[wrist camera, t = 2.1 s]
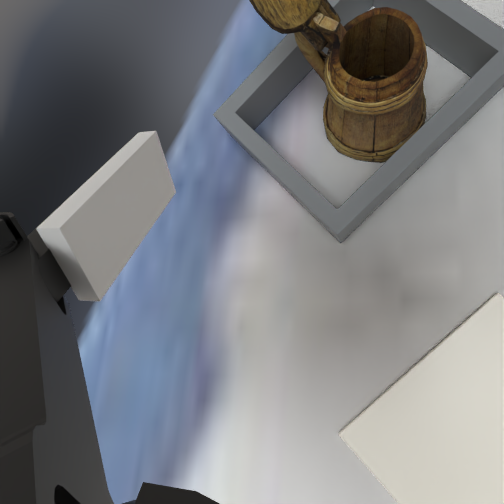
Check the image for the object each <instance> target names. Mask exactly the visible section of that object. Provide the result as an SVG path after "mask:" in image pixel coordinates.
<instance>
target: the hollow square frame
mask: <svg viewBox="0 0 504 504" xmlns="http://www.w3.org/2000/svg"><path fill="white" fill-rule="evenodd" d="M327 1H328V2H329V3H330V5H331V6H332V7H333V8H334V10H335V11H336V13H337V14H338V16H339V18H340V20H341V21H340V23H341V24H342V25H343V26H345V25H346V24H347V23H348V22H350V21H351V20H352V19H354V18H355V17H357V16H358V15H361V14H363V13H365V12H367V11H368V10H369V9H370V8H371V7H372V6H374V7H376V8H381V7H389V8H394V9H397V10H400V11H402V12H404V13H406V14H408V15H409V16H411V17H412V18H413V19H414V21H415V22H416V23H417V25H418V27H419V29H420V31H421V33H422V37H423V40H424V43H425V44H426V45H428V46H429V47H430V48H432V49H433V50H435V51H436V52H437V53H439V54H440V55H441V56H443V57H444V58H445V59H447V60H448V61H450V62H451V63H452V64H454V65H455V66H456V67H458V68H459V69H461V70H462V71H463V72H465V73H466V74H467V75H469V76H470V77H472V78H471V79H470V80H469V81H468V82H467V83H466V84H465V85H464V86H463V87H462V88H461V89H460V90H459V91H458V92H457V93H456V94H455V95H454V96H453V97H452V98H451V99H450V100H449V101H448V102H446V103H445V104H444V105H443V106H442V107H441V108H440V109H439V110H438V111H437V112H436V113H435V114H434V115H433V116H432V117H431V118H430V119H429V120H428V121H427V122H426V123H425V124H424V125H423V126H422V127H421V128H420V129H419V130H418V131H417V132H416V133H415V134H414V135H413V136H412V137H411V138H410V139H409V140H408V141H407V142H406V143H405V144H404V145H403V146H402V147H401V148H400V149H399V150H397V151H396V152H395V153H394V154H393V155H392V156H391V157H390V158H389V159H388V160H387V161H386V162H385V163H384V164H383V165H382V166H381V167H380V168H379V169H378V170H377V171H376V172H375V173H374V174H373V175H372V176H371V177H370V178H369V179H368V180H367V181H366V182H365V183H364V184H363V185H362V186H361V187H360V188H359V189H358V190H357V191H356V192H355V193H354V194H353V195H352V196H351V197H350V198H348V199H347V200H346V201H345V202H344V203H343V204H342V205H341V206H340V207H339V208H338V209H336V208H335V207H334V206H333V205H332V204H331V203H330V202H329V201H328V200H327V199H326V198H325V197H324V196H322V195H321V194H320V193H319V192H318V191H317V190H316V189H315V188H314V187H313V186H312V185H311V184H310V183H309V182H308V181H307V180H306V179H305V178H303V177H302V176H301V175H300V174H299V173H298V172H297V171H296V170H295V169H294V168H293V167H292V166H291V165H290V164H289V163H288V162H287V161H286V160H284V159H283V158H282V157H281V156H280V155H279V154H278V153H277V152H276V151H275V150H274V149H273V148H272V147H271V146H270V145H269V144H268V143H267V142H265V141H264V140H263V139H262V138H261V137H260V136H259V135H258V134H257V133H256V132H255V131H254V130H255V128H256V127H257V126H258V125H259V124H260V123H261V122H262V121H263V120H264V119H265V118H266V117H267V116H268V115H269V114H270V113H271V112H272V111H273V110H274V109H275V108H276V106H277V105H278V104H279V103H280V102H281V101H282V100H283V99H284V98H285V97H286V96H287V95H288V94H289V93H290V92H291V91H292V90H293V89H294V88H295V87H296V85H297V84H298V83H299V82H300V81H301V80H302V79H303V78H304V77H305V76H306V75H307V74H308V73H309V72H310V71H311V70H312V69H313V67H312V66H311V65H310V64H309V62H308V61H307V59H306V58H305V57H304V55H303V54H302V52H301V51H300V49H299V47H298V45H297V43H296V41H295V35H294V33H291V34H287V36H286V37H285V38H284V39H283V40H282V41H281V42H280V43H279V44H278V45H277V46H276V47H275V48H274V50H273V51H272V52H271V53H270V54H269V55H268V56H267V57H266V58H265V59H264V60H263V61H262V62H261V63H260V65H259V66H258V67H257V68H256V69H255V70H254V71H253V72H252V73H251V74H250V75H249V76H248V77H247V79H246V80H245V81H244V82H243V83H242V84H241V85H240V86H239V87H238V88H237V89H236V90H235V91H234V93H233V94H232V95H231V96H230V97H229V98H228V99H227V100H226V101H225V102H224V103H223V104H222V105H221V107H220V108H219V109H218V110H217V111H216V112H215V113H214V114H213V115H214V116H215V118H216V119H217V120H218V121H219V122H220V124H221V125H222V126H223V127H224V128H225V130H226V131H227V132H228V133H229V134H230V136H231V137H232V138H234V139H235V140H236V141H237V142H238V143H239V144H240V145H241V146H242V147H243V148H244V149H245V150H246V151H247V152H248V153H249V154H250V155H251V156H252V157H253V158H254V159H255V160H256V161H257V162H258V163H259V164H260V165H261V166H262V167H263V168H264V169H265V170H266V171H267V172H268V173H269V174H270V175H271V176H272V177H273V178H275V179H276V180H277V181H278V182H279V183H280V184H281V185H282V186H283V187H284V188H285V189H286V190H287V191H288V192H289V193H290V194H291V195H292V196H293V197H294V198H295V199H296V200H297V201H298V202H299V203H300V204H301V205H302V206H303V207H304V208H305V209H306V210H307V211H308V212H309V213H310V214H311V215H312V216H313V217H314V218H316V219H317V220H318V221H319V222H320V223H321V224H322V225H323V226H324V227H325V228H326V229H327V230H328V231H329V232H330V233H331V234H332V235H333V236H334V237H335V238H336V239H337V240H338V241H339V242H340V243H341V242H343V241H344V240H345V239H346V238H347V237H348V236H349V235H350V234H351V233H352V232H353V231H354V230H355V229H356V228H357V227H358V226H359V225H360V224H361V223H362V222H363V221H364V220H365V219H366V218H367V217H368V216H369V215H371V214H372V213H373V212H374V211H375V210H376V209H377V208H378V207H379V206H380V205H381V204H382V203H383V202H384V201H385V200H386V199H387V198H388V197H389V196H390V195H391V194H392V193H393V192H394V191H395V190H396V189H397V188H399V187H400V186H401V185H402V184H403V183H404V182H405V181H406V180H407V179H408V178H409V177H410V176H411V175H412V174H413V173H414V172H415V171H416V170H417V169H418V168H419V167H420V166H421V165H422V164H423V163H424V162H425V161H427V160H428V159H429V158H430V157H431V156H432V155H433V154H434V153H435V152H436V151H437V150H438V149H439V148H440V147H441V146H442V145H443V144H444V143H445V142H446V141H447V140H448V139H449V138H450V137H451V136H452V135H453V134H455V133H456V132H457V131H458V130H459V129H460V128H461V127H462V126H463V125H464V124H465V123H466V122H467V121H468V120H469V119H470V118H471V117H472V116H473V115H474V114H475V113H476V112H477V111H478V110H479V109H480V108H481V107H483V106H484V105H485V104H486V103H487V102H488V101H489V100H490V99H491V98H492V97H493V96H494V95H495V94H496V93H497V92H498V91H499V90H500V89H501V88H502V87H503V86H504V29H503V28H501V27H500V26H498V25H497V24H495V23H494V22H492V21H491V20H489V19H488V18H486V17H485V16H483V15H482V14H480V13H479V12H477V11H476V10H474V9H473V8H472V7H470V6H469V5H467V4H466V3H464V2H463V1H461V0H327ZM328 50H329V49H328V48H326V47H324V49H323V50H322V51H323V52H324V53H325V54H327V52H328Z"/></svg>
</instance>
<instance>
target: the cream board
mask: <svg viewBox="0 0 504 504" xmlns="http://www.w3.org/2000/svg"><path fill="white" fill-rule="evenodd" d="M339 436H340V437H341V438H342V439H343V441H344V442H345V443H346V444H347V445H348V446H349V448H350V449H351V450H352V451H353V452H354V453H355V455H356V456H357V457H358V458H359V459H360V460H361V462H362V463H363V464H364V465H365V466H366V467H367V468H368V470H369V471H370V472H371V473H372V474H373V475H374V477H375V478H376V479H377V480H378V481H379V482H380V484H381V485H382V486H383V487H384V488H385V489H386V490H387V492H388V493H389V494H390V495H391V496H392V497H393V499H394V500H395V501H396V502H397V503H398V504H504V297H503V296H502V295H500V294H499V293H496V294H495V295H494V296H493V297H492V298H490V299H489V300H488V301H487V302H486V303H485V304H484V305H483V306H481V307H480V308H479V309H478V310H477V311H476V312H475V313H473V314H472V315H471V316H470V317H469V318H468V319H467V320H466V321H464V322H463V323H462V324H461V325H460V326H459V327H458V328H457V329H455V330H454V331H453V332H452V333H451V334H450V335H449V336H448V337H446V338H445V339H444V340H443V341H442V342H441V343H440V344H438V345H437V346H436V347H435V348H434V349H433V350H432V351H431V352H429V353H428V354H427V355H426V356H425V357H424V358H423V359H422V360H420V361H419V362H418V363H417V364H416V365H415V366H414V367H413V368H411V369H410V370H409V371H408V372H407V373H406V374H405V375H403V376H402V377H401V378H400V379H399V380H398V381H397V382H396V383H394V384H393V385H392V386H391V387H390V388H389V389H388V390H387V391H385V392H384V393H383V394H382V395H381V396H380V397H379V398H378V399H376V400H375V401H374V402H373V403H372V404H371V405H370V406H369V407H367V408H366V409H365V410H364V411H363V412H362V413H361V414H359V415H358V416H357V417H356V418H355V419H354V420H353V421H352V422H350V423H349V424H348V425H347V426H346V427H345V428H344V429H343V430H341V431H340V432H339Z"/></svg>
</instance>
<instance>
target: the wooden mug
mask: <svg viewBox="0 0 504 504" xmlns="http://www.w3.org/2000/svg"><path fill="white" fill-rule="evenodd" d="M250 2H251V4H252V5H253V7H254V9H255V10H256V12H257V13H258V14H259V15H260V16H261V17H262V19H263V20H264V21H265V22H266V23H267V24H268V25H269V26H270V27H271V28H272V29H273V30H276V31H278V32H280V33H282V34H291V33H294V35H295V41H296V43H297V45H298V47H299V49H300V51H301V52H302V54H303V55H304V57H305V58H306V59H307V61H308V62H309V64H310V65H311V66H312V67H313V68H314V70H315V71H316V72H317V73H318V74H319V76H320V77H321V78H322V80H323V81H324V82H325V84H326V87H327V91H328V95H327V98H326V101H325V104H324V110H323V121H324V126H325V130H326V135H327V138H328V140H329V141H330V142H331V143H332V145H333V146H334V147H335V148H336V150H337V151H338V152H340V153H342V154H344V155H347V156H349V157H351V158H354V159H356V160H363V161H370V162H383V161H387V160H388V159H389V158H390V157H391V156H392V155H393V154H394V153H395V152H396V151H397V150H399V149H400V148H401V147H402V146H403V145H404V144H405V143H406V142H407V141H408V140H409V139H410V138H411V137H412V136H413V135H414V134H415V133H416V132H417V131H418V130H419V129H420V128H421V127H422V126H423V125H424V123H425V119H426V99H425V96H424V93H423V80H424V78H425V74H426V69H427V53H426V46H425V43H424V40H423V37H422V33H421V31H420V29H419V27H418V25H417V23H416V22H415V21H414V19H413V18H412V17H411V16H409V15H408V14H406V13H404V12H402V11H400V10H397V9H394V8H389V7H381V8H374V9H372V10H370V11H367V12H365V13H363V14H361V15H358V16H357V17H355V18H354V19H352V20H351V21H350V22H348V23H347V24H346V25H345V26H343V25H342V24H341V23H340V21H341V20H340V18H339V16H338V14H337V13H336V11H335V10H334V8H333V7H332V6H331V5H330V3H329V2H328V1H327V0H250ZM324 47H326V48H328V49H329V50H328V52H327V55H326V54H325V53H324V52H323V51H322V50H323V49H324Z"/></svg>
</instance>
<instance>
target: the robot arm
mask: <svg viewBox="0 0 504 504" xmlns="http://www.w3.org/2000/svg"><path fill="white" fill-rule="evenodd" d="M175 193H176V190H175V187H174V184H173V181H172V178H171V175H170V172H169V169H168V166H167V162H166V159H165V156H164V153H163V150H162V147H161V144H160V141H159V138H158V135H157V132H156V131H150V132H139V133H138V134H137V135H136V136H135V137H134V138H133V139H131V140H130V141H129V142H128V143H127V144H126V145H125V146H124V147H123V148H122V149H121V150H120V151H119V152H118V153H117V154H115V155H114V156H113V157H112V158H111V159H110V160H109V161H108V162H107V163H106V164H105V165H104V166H103V167H101V168H100V169H99V170H98V171H97V172H96V173H95V174H94V175H93V176H92V177H91V178H90V179H89V180H88V181H87V182H85V183H84V184H83V185H82V186H81V187H80V188H79V189H78V190H77V191H76V192H75V193H74V194H73V195H71V196H70V197H69V198H68V199H67V200H66V201H65V202H64V203H63V204H62V205H61V206H60V207H58V208H57V210H55V211H54V212H53V213H52V214H51V215H50V216H49V217H48V218H47V219H46V220H44V221H43V222H42V223H41V224H40V225H39V226H38V227H37V228H36V229H35V230H34V231H33V232H32V233H31V234H30V235H28V236H26V234H25V233H24V231H23V229H22V228H21V226H20V225H19V223H18V221H17V220H16V218H15V216H14V215H13V213H9V212H2V213H0V504H114V503H113V501H112V498H111V496H110V493H109V490H108V487H107V482H106V477H105V473H104V468H103V463H102V458H101V453H100V449H99V444H98V439H97V434H96V430H95V425H94V420H93V415H92V410H91V406H90V401H89V396H88V391H87V386H86V382H85V377H84V372H83V367H82V363H81V358H80V353H79V348H78V343H77V339H76V334H75V329H74V324H73V320H72V315H71V310H70V305H69V303H68V301H67V299H66V298H65V296H64V294H65V293H66V291H67V290H68V289H69V288H70V287H71V288H72V289H73V291H74V293H75V294H76V296H77V298H78V299H79V300H80V301H101V299H102V298H103V296H104V295H105V294H106V292H107V291H108V289H109V288H110V286H111V285H112V284H113V282H114V281H115V279H116V278H117V276H118V275H119V273H120V272H121V271H122V269H123V268H124V266H125V265H126V263H127V262H128V261H129V259H130V258H131V256H132V255H133V253H134V252H135V250H136V249H137V248H138V246H139V245H140V243H141V242H142V240H143V239H144V237H145V236H146V235H147V233H148V232H149V230H150V229H151V227H152V226H153V225H154V223H155V222H156V220H157V219H158V217H159V216H160V214H161V213H162V212H163V210H164V209H165V207H166V206H167V204H168V203H169V202H170V200H171V199H172V197H173V196H174V194H175ZM123 504H219V503H217V502H215V501H214V500H212V499H210V498H208V497H206V496H204V495H202V494H200V493H198V492H197V491H191V490H185V489H179V488H174V487H168V486H162V485H156V484H151V483H145V482H143V484H142V487H141V489H140V492H139V494H138V497H137V499H136V500H133V501H130V502H126V503H123Z"/></svg>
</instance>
